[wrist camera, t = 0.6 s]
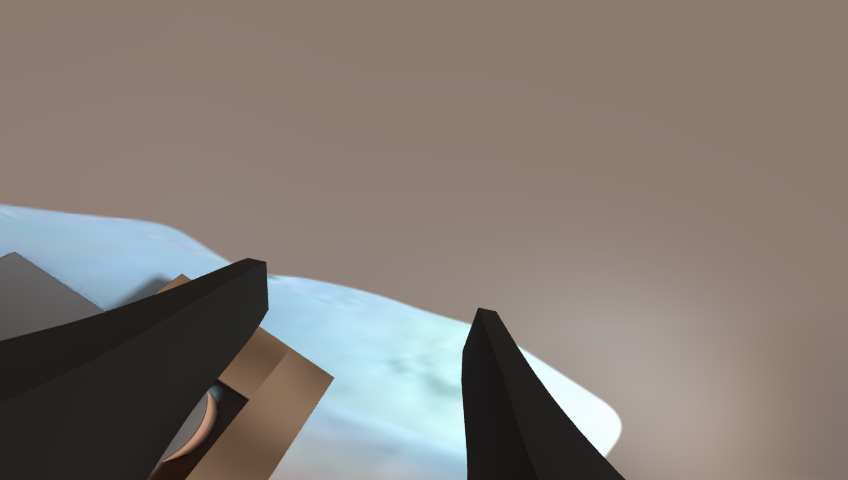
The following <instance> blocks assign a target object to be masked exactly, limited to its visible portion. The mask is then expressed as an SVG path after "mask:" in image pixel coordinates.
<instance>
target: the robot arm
mask: <svg viewBox="0 0 848 480" xmlns="http://www.w3.org/2000/svg"><path fill="white" fill-rule="evenodd" d="M268 309H269V308H268V288H267V268H266V262H264V261H259V260H255V259H250V258H247V259H244V260H241V261H238V262H236V263H233V264H231V265H228V266H226V267H223V268H221V269H218V270H216V271H213V272H211V273H209V274H206V275H204V276H201V277H199V278H196V279H194V280H191V281H189V282H186V283H184V284H182V285H179V286H177V287H174V288H171V289H169V290H166V291H163V292H161V293H158V294H155V295H152V296H150V297H147V298H144V299H142V300H139V301H136V302H134V303H131V304H128V305H125V306H122V307H119V308H116V309H113V310H110V311H107V312H104V313H100V314H97V315H94V316H91V317H87V318H84V319H81V320H77V321H74V322H70V323H67V324H63V325H60V326H56V327H52V328H48V329H44V330H40V331H36V332H33V333H29V334H25V335H21V336H17V337H13V338H10V339H6V340H2V341H0V480H147V479H148V477H149V476H150V474H151V473H152V471H153V469H154V468H155V466H156V465H157V463H158V462H159V460H160V459H161V457H162V455H163V454H164V452H165V451H166V449H167V448H168V446H169V445H170V443H171V442H172V440H173V439H174V437H175V436H176V434H177V433H178V431H179V430H180V428H181V427H182V425H183V424H184V422H185V421H186V419H187V418H188V417H189V415H190V414H191V412H192V411H193V409H194V408H195V407H196V405H197V404H198V403H199V402H200V400H201V399H202V398H203V396H204V395H205V394H206V393H207V391H208V390H209V389H210V388H211V386H212V385H213V384H214V383H215V382H216V380H217V379H218V378H219V377H220V375H221V374H222V373H223V372H224V370H225V369H226V368H227V367H228V366H229V364H230V363H231V362H232V361H233V359H234V358H235V357H236V356H237V354H238V353H239V352H240V351H241V349H242V348H243V347H244V346H245V344H246V343H247V342H248V341H249V339H250V338H251V337H252V335H253V334H254V332H255V331H256V329H257V328H258V326H259V325H260V323H261V321H262V320H263V318H264V316H265V314H266V313H267V311H268ZM461 381H462V396H463V410H464V423H465V436H466V449H467V480H625V479H624V478H623V477H622V476H621V475H620V474H619V473H618V472H617V471H616V470H615V469H614V467H613V466H612V465H611V464H610V463H609V462H608V461H607V460H606V459H605V458H604V457H603V456H602V455H601V454H600V453H599V451H598V450H597V449H596V448H595V447H594V446H593V445H592V444H591V443H590V442H589V441H588V439H587V438H586V437H585V436H584V435H583V434H582V433H581V432H580V430H579V429H578V428H577V427H576V426H575V424H574V423H573V422H572V421H571V420H570V418H569V417H568V416H567V415H566V414H565V412H564V411H563V410H562V409H561V408H560V406H559V405H558V404H557V402H556V401H555V400H554V399H553V397H552V396H551V395H550V393H549V392H548V391H547V389H546V388H545V386H544V385H543V384H542V382H541V381H540V380H539V378H538V377H537V375H536V374H535V373H534V371H533V370H532V368H531V367H530V365H529V364H528V362H527V361H526V359H525V358H524V356H523V354H522V353H521V351H520V350H519V348H518V347H517V345H516V343H515V342H514V340H513V338H512V337H511V335H510V334H509V332H508V330H507V329H506V327H505V325H504V324H503V322H502V320H501V319H500V317H499V315H498V314H497V312H496V311H492V310H487V309H482V308H478V310H477V313H476V315H475V318H474V321H473V324H472V326H471V329H470V332H469V335H468V337H467V340H466V343H465V346H464V348H463V354H462V378H461Z"/></svg>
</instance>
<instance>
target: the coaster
mask: <svg viewBox="0 0 848 480" xmlns="http://www.w3.org/2000/svg"><path fill="white" fill-rule="evenodd" d="M104 312H106V311H104V310H102V309H101V308H99V307H98V306H96V305H95V304H93V303H92V302H90V301H89V300H87V299H86V298H84V297H83V296H81V295H80V294H78V293H77V292H75V291H74V290H72V289H71V288H69V287H68V286H66V285H65V284H63V283H62V282H60V281H59V280H57V279H56V278H54V277H52V276H51V275H49V274H48V273H46V272H45V271H43V270H42V269H40V268H39V267H37V266H36V265H34V264H33V263H31V262H30V261H28V260H27V259H25V258H24V257H22V256H21V255H19V254H18V253H16V252H14V253H12V254H10V255H8V256H6V257H4V258H2V259H0V341H2V340H6V339H10V338H13V337H17V336H21V335H25V334H29V333H33V332H36V331H40V330H44V329H48V328H52V327H56V326H60V325H63V324H67V323H70V322H74V321H77V320H81V319H84V318H87V317H91V316H94V315H97V314H100V313H104Z"/></svg>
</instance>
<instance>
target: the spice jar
mask: <svg viewBox="0 0 848 480" xmlns="http://www.w3.org/2000/svg"><path fill="white" fill-rule="evenodd" d="M217 418H218V405H217V401H216V399H215V397H214V396H213V395H212V394H211V392H210V391H209V390H208V391H207V393H206V394H205V395H204V396H203V398H202V399H201V400H200V402H199V403H198V404H197V405H196V407H195V408H194V409H193V411H192V412H191V414H190V415H189V417H188V418H187V419H186V421H185V422H184V424H183V425H182V427H181V428H180V430H179V431H178V433H177V434H176V436H175V437H174V439H173V440H172V442H171V443H170V445H169V446H168V448H167V449H166V451H165V452H164V454H163V455H162V457H161V459H160V460H159V462H158V463H160V462H164V461H168V460H172V459H176V458H180V457H182V456H185V455H187V454H189V453H191V452H192V451H194V450H195V449H197V448H198V447H199V446H200V445H201V444H202V443H203V442H204V441H205V440H206V439H207V438H208V437H209V435H210V434H211V432H212V431H213V429H214V427H215V425H216V422H217ZM158 463H157V464H158Z"/></svg>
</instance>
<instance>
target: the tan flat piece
mask: <svg viewBox="0 0 848 480" xmlns="http://www.w3.org/2000/svg"><path fill="white" fill-rule="evenodd" d="M189 281H191V280H190V279H189V278H188V277H186V276H185V275H183V274H181V275H179V276H178V277H177V278H175V279H174V280H173V281H171V282H170V283H169V284H168V285H166V286H165V287H164V288H162V289H161V290H160V291H158V292H157V293H156V294H158V293H161V292H163V291H166V290H169V289H171V288H174V287H177V286H179V285H182V284H184V283H186V282H189ZM154 295H155V294H154ZM333 379H334V377H333V376H331V375H330V374H328V373H327V372H325V371H324V370H322V369H321V368H319V367H318V366H317V365H315V364H314V363H312V362H311V361H309V360H308V359H306V358H305V357H303V356H302V355H300V354H299V353H297V352H296V351H295V350H293V349H292V348H290V347H289V346H287V345H286V344H284V343H283V342H281V341H280V340H278V339H277V338H275V337H274V336H273V335H271V334H270V333H268V332H267V331H265V330H264V329H262V328H261V327H259V326H258V328H257V329H256V331H255V332H254V334H253V335H252V337H251V338H250V339H249V341H248V342H247V343H246V344H245V346H244V347H243V348H242V349H241V351H240V352H239V353H238V354H237V356H236V357H235V358H234V359H233V361H232V362H231V363H230V364H229V366H228V367H227V368H226V369H225V370H224V372H223V373H222V374H221V375H220V377H219V378H218V379H217V380H216V381H218V382H219V383H221V384H222V385H224V386H225V387H227V388H228V389H230V390H231V391H233V392H234V393H236V394H237V395H239V396H240V397H242V398H243V399H245V400H246V401H248V402H247V404H246V405H245V406H244V407H243V409H242V410H241V411H240V412H239V413H238V415H237V416H236V417H235V418H234V420H233V421H232V422H231V423H230V425H229V426H228V427H227V428H226V430H225V431H224V432H223V433H222V435H221V436H220V437H219V438H218V440H217V441H216V442H215V443H214V445H213V446H212V447H211V448H210V450H209V451H208V452H207V453H206V454H205V456H204V457H203V458H202V459H201V461H200V462H199V463H198V464H197V466H196V467H195V468H194V469H193V471H192V472H191V473H190V474H189V476H188V477H187V478H186V479H185V480H268V479H269V478H270V476H271V474H272V473H273V471H274V470H275V468H276V467H277V465H278V464H279V462H280V461H281V459H282V458H283V456H284V455H285V453H286V451H287V450H288V448H289V447H290V445H291V444H292V442H293V441H294V439H295V438H296V436H297V435H298V433H299V431H300V430H301V428H302V427H303V425H304V424H305V422H306V421H307V419H308V418H309V416H310V415H311V413H312V412H313V410H314V408H315V407H316V405H317V404H318V402H319V401H320V399H321V398H322V396H323V395H324V393H325V392H326V390H327V388H328V387H329V385H330V384H331V382H332V381H333ZM147 480H152V479H151V478H149V477H148V479H147Z"/></svg>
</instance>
